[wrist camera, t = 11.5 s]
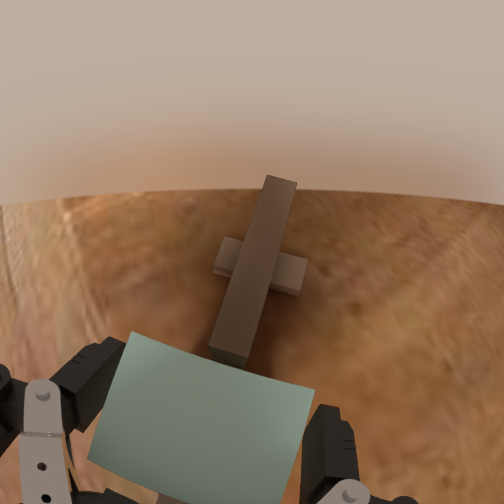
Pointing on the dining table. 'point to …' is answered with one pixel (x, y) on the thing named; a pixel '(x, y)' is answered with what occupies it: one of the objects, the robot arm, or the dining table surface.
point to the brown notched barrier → (253, 278)
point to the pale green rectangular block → (199, 427)
